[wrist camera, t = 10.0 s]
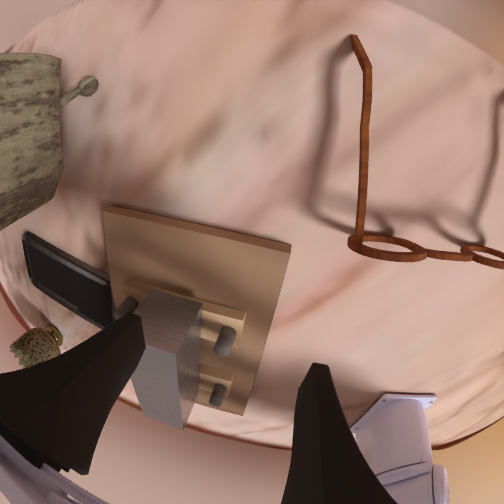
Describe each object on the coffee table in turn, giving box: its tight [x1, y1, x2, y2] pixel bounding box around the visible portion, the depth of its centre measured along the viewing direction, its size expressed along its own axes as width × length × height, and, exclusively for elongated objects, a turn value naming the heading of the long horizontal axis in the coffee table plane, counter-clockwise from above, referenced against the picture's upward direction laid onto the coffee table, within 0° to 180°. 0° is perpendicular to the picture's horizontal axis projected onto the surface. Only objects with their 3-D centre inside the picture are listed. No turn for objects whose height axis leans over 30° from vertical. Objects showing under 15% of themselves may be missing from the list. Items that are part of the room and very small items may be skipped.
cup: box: [10, 325, 63, 369], centre depth 28 cm, size 8×7×8 cm
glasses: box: [347, 34, 504, 269], centre depth 11 cm, size 13×13×5 cm
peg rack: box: [102, 206, 291, 416], centre depth 22 cm, size 22×14×4 cm, turn 171°
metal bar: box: [131, 289, 203, 430], centre depth 20 cm, size 12×4×5 cm, turn 171°
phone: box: [22, 231, 116, 330], centre depth 25 cm, size 8×1×15 cm
